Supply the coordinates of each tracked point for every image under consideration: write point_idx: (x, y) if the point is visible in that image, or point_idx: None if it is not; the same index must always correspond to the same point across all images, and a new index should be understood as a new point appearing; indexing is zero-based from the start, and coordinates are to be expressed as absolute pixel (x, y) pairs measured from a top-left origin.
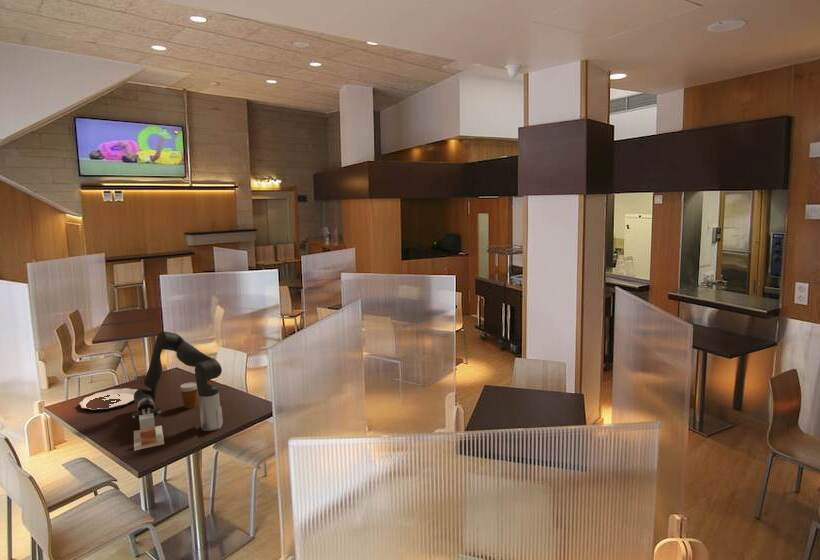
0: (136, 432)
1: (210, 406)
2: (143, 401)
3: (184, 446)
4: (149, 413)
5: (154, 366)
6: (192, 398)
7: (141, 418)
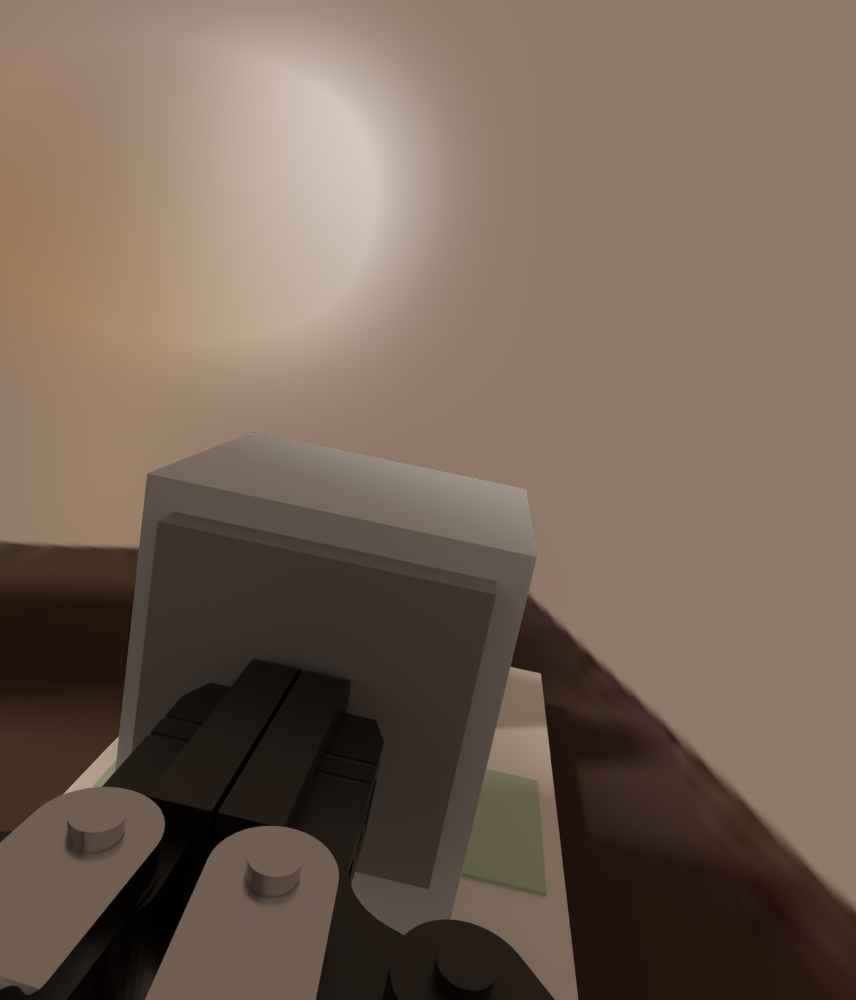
0: None
1: None
2: None
3: (100, 571)
4: (17, 849)
5: None
6: None
7: (482, 488)
